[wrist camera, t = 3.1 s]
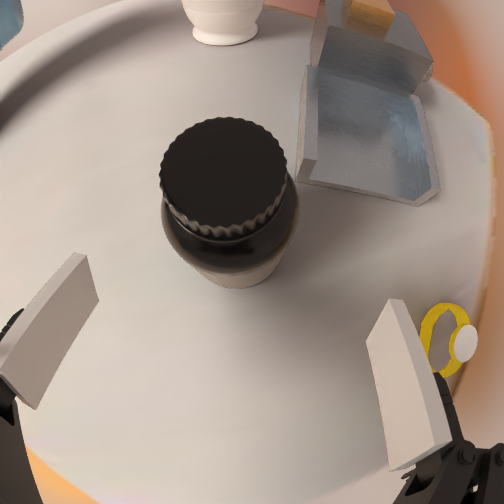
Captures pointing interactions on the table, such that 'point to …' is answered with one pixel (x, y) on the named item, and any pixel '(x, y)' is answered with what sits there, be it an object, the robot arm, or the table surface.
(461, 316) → the watch
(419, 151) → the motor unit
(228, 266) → the supplement bottle
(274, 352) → the table surface
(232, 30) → the jar
